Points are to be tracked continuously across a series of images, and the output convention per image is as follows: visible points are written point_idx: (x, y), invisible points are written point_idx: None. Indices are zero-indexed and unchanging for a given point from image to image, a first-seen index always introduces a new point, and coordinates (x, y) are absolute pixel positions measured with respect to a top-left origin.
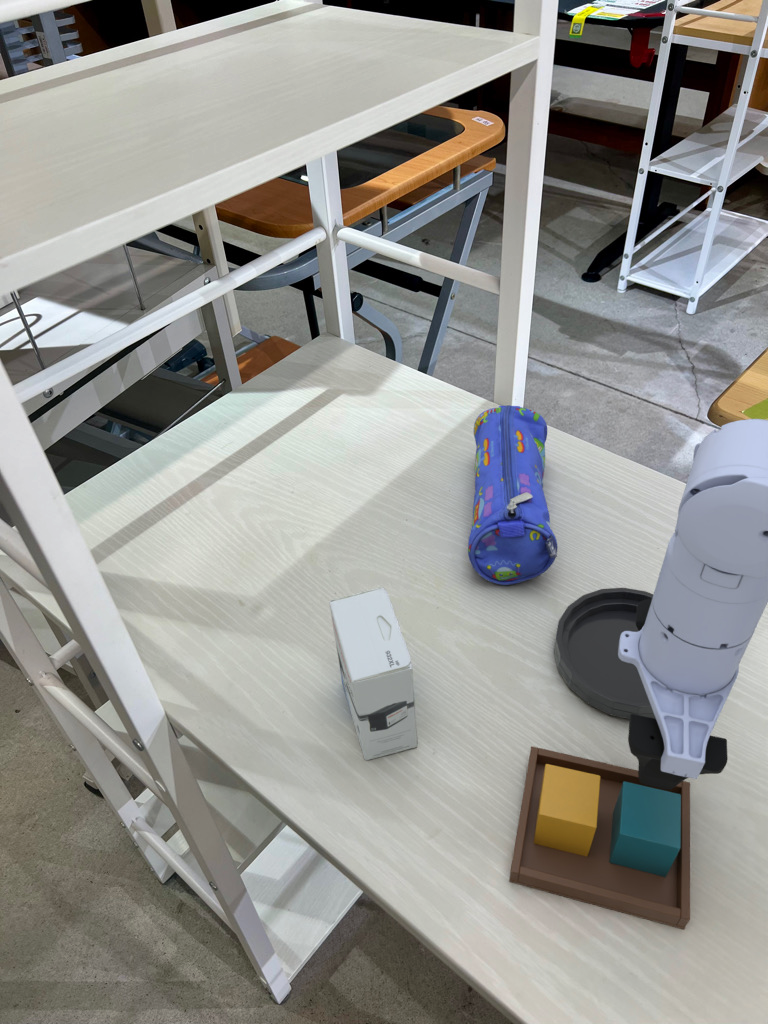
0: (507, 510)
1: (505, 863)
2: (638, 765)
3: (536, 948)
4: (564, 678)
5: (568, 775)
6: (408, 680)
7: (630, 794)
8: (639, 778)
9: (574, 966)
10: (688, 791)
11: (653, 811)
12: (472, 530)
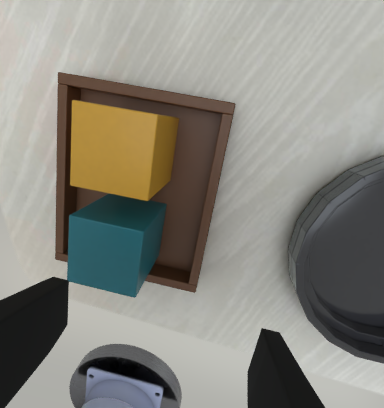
0: None
1: (95, 73)
2: (19, 299)
3: (21, 109)
4: (365, 163)
5: (140, 152)
6: None
7: (124, 237)
8: (40, 282)
9: (17, 146)
10: (184, 288)
11: (106, 261)
12: None
